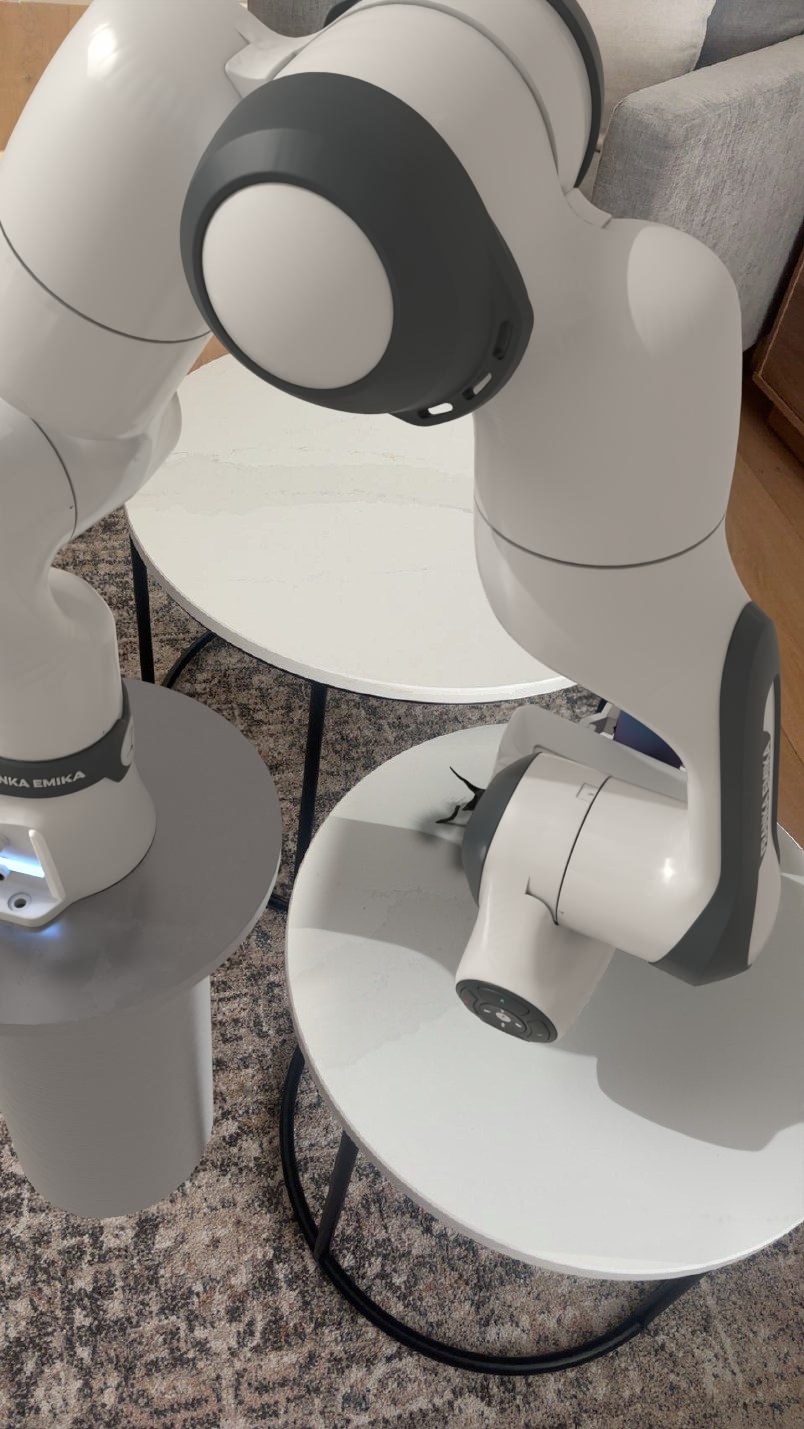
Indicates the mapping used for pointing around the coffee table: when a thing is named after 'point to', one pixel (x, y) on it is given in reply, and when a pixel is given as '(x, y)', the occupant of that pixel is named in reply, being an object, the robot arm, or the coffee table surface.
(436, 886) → the coffee table surface
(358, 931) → the coffee table surface
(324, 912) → the coffee table surface
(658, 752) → the cup
